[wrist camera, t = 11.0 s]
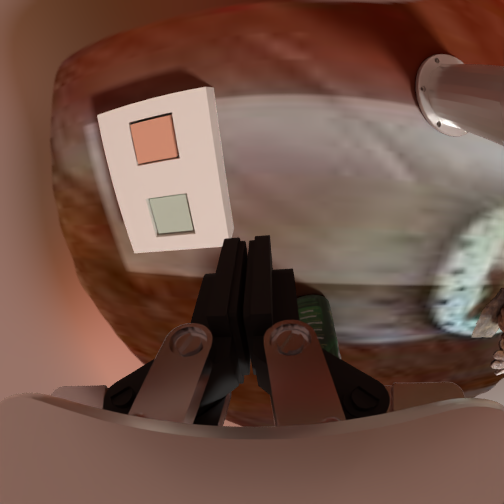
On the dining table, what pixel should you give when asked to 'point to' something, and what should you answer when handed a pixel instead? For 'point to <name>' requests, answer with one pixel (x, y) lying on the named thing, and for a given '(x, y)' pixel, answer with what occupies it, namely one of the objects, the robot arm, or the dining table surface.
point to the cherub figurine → (493, 328)
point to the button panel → (171, 171)
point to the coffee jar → (319, 321)
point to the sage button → (172, 213)
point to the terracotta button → (154, 139)
